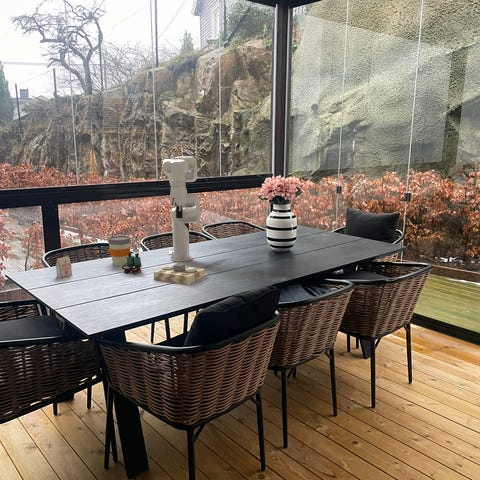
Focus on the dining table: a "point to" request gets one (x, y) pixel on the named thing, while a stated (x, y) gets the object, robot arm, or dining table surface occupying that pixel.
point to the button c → (191, 271)
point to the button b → (179, 267)
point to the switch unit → (179, 275)
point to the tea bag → (63, 267)
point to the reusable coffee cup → (119, 249)
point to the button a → (168, 268)
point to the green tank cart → (132, 264)
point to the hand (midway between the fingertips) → (179, 218)
